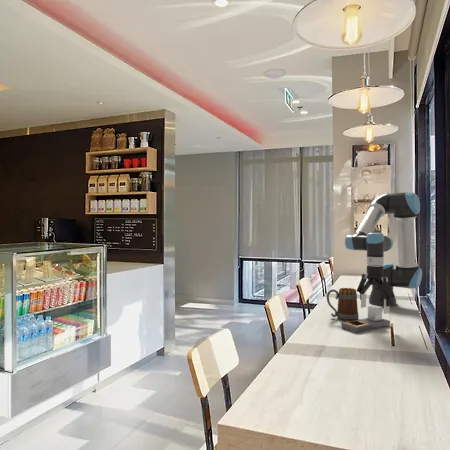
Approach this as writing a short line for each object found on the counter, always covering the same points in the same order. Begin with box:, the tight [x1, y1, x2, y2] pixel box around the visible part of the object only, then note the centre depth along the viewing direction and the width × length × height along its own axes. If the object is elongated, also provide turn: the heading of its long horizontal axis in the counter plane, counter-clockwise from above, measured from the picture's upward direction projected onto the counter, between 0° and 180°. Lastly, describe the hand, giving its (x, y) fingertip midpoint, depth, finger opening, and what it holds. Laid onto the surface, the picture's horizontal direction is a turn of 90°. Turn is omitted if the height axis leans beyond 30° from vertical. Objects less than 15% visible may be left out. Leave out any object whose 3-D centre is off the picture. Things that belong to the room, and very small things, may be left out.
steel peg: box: [367, 304, 383, 322], centre depth 191 cm, size 4×4×9 cm
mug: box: [326, 287, 360, 322], centre depth 203 cm, size 16×11×15 cm
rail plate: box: [341, 317, 391, 334], centre depth 188 cm, size 22×9×3 cm, turn 119°
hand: (374, 310), depth 190 cm, fingers open, 13 cm apart
